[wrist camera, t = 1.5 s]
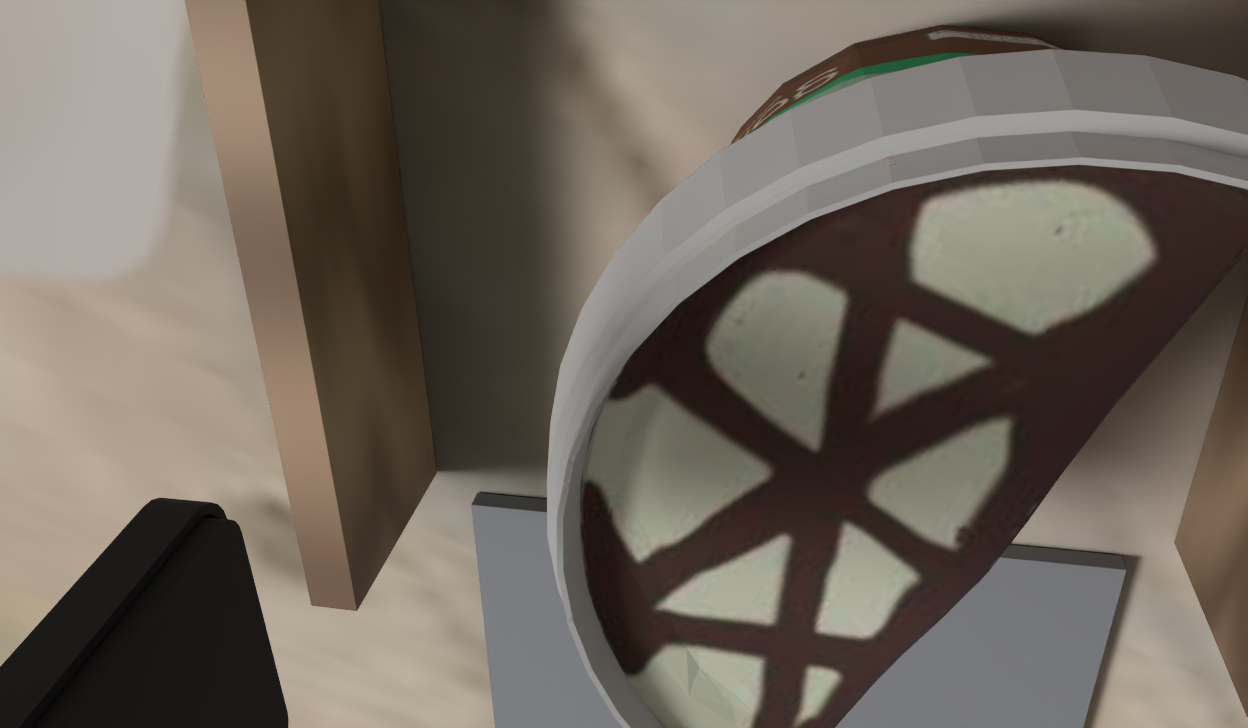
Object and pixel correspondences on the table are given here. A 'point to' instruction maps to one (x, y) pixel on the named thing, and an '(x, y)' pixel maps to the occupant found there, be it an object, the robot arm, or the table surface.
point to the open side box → (387, 315)
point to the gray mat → (895, 704)
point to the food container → (870, 359)
